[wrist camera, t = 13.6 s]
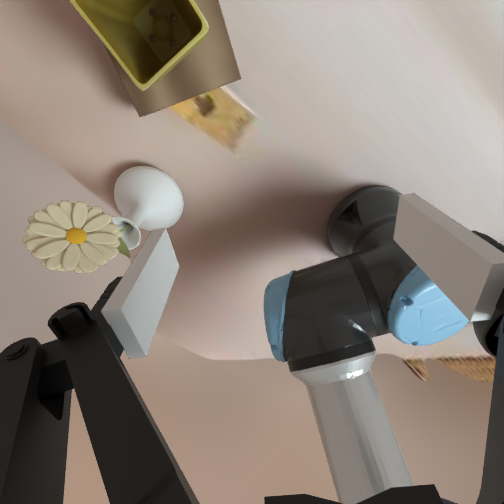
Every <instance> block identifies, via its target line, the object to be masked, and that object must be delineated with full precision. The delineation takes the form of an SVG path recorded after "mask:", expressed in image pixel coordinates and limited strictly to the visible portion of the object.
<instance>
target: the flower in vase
mask: <svg viewBox="0 0 504 504" xmlns="http://www.w3.org/2000/svg"><path fill="white" fill-rule="evenodd" d="M114 199H115V203H116V206H117V208H118V210H119V212H120V213H121V215H122V216H123V217H120V216H114V217H111V216H110V215H109V214H105V213H104V212H102V209H101V208H100V207H94V208H93V207H91V206H87V205H86V203H85V202H82V201H79V202H77V203H70V202H69V201H67V200H62V201H61V202H60V204H48V205H47V206H46V208H45V209H43V210H42V211H36V212H35V213H34V215H33V216H31V217H29V218H28V222H29V223H30V225H29V227H27V228H26V229H25V232H26V233H27V234H28V235H29V236H26V237H24V238H23V243H24V244H25V246H26V248H27V249H28V250H32V252H31V253H32V255H33V256H34V257H36V258H39V259H42V260H41V263H42V264H43V265H44V266H46V268H48V269H50V270H55V269H56V270H57V271H60V272H62V271H65V270H66V271H72V270H73V271H74V272H76V273H82V272H84V273H90V272H92V271H95V270H97V269H98V265H105V264H107V263H108V261H109V260H111V259H113V258H114V257H115V256H116V255H118V253H119V252H120V253H122V254H124V255H126V256H127V257H129V258H130V253H129V250H132V249H134V248H136V247H137V246H138V245H139V244H140V241H141V233H140V230H139V228H141V229H144V230H148V231H152V230H153V229H160V228H169V227H171V226H172V225H174V224H175V223H176V222H177V221H178V220H179V218H180V217H181V215H182V212H183V207H184V202H183V196H182V193H181V190H180V189H179V187H178V185H177V184H176V182H175V181H174V180H173V179H172V178H171V177H170V176H169V175H167V174H166V173H165V172H163V171H161V170H159V169H157V168H153V167H149V166H136V167H132V168H129V169H127V170H126V171H124V172H123V173H122V174H121V175H120V176H119V177H118V179H117V181H116V183H115V187H114Z"/></svg>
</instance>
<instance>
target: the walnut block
mask: <svg viewBox="0 0 504 504" xmlns="http://www.w3.org/2000/svg"><path fill="white" fill-rule="evenodd" d="M194 1H195V3H196V4H197V6H198V8H199V9H200V11H201V12H202V14H203V15H204V17H205V19H206V20H207V22H208V25H209V31H208V34H207V37H206V38H205V39H204V40H203V41H202V42H201V43H200V44H199V45H197V46H196V47H195V48H194V49H193V50H192V51H191V52H190V53H189V54H187V55H186V56H185V57H184V58H183V59H182V60H181V61H180V62H179V63H178V64H177V65H176V66H175V67H173V68H172V69H171V70H170V71H169V72H168V73H167V74H166V75H165V76H164V77H163V78H162V79H161V80H160V81H159V82H158V83H156V84H155V85H153V86H152V87H150V88H148V89H147V90H145V91H141V90H140V89H139V88H138V87H137V86H136V85H135V83H134V82H133V81H132V80H131V78H130V77H129V75H128V74H127V73H126V72H125V70H124V69H123V68H122V66H121V65H120V64H119V62H118V61H117V60H116V58H115V57H114V56H113V55H112V53H111V52H110V51H109V49H108V48H107V47H106V46H105V47H106V49H107V51H108V53H109V55H110V57H111V59H112V61H113V63H114V65H115V67H116V70H117V72H118V74H119V76H120V78H121V80H122V82H123V84H124V86H125V88H126V90H127V92H128V94H129V96H130V98H131V100H132V102H133V104H134V106H135V108H136V111H137V113H138V115H139V117H142V116H145V115H148V114H151V113H154V112H157V111H159V110H162V109H164V108H167V107H169V106H172V105H175V104H177V103H180V102H182V101H185V100H188V99H190V98H193V97H195V96H198V95H201V94H203V93H206V92H208V91H211V90H214V89H216V88H219V87H221V86H224V85H227V84H229V83H232V82H234V81H237V80H240V79H241V76H240V73H239V69H238V66H237V62H236V59H235V56H234V52H233V49H232V45H231V42H230V38H229V35H228V32H227V28H226V25H225V21H224V18H223V14H222V11H221V8H220V4H219V1H218V0H194ZM150 14H151V15H152V16H155V11H154V10H151V11H150ZM171 19H172V20H173V21H176V16H175V15H172V16H171ZM151 40H152V41H155V36H153V35H152V36H151ZM175 44H176V42H175V41H174V40H171V45H172V46H175ZM104 45H105V44H104Z"/></svg>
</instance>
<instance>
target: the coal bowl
mask: <svg viewBox="0 0 504 504" xmlns="http://www.w3.org/2000/svg"><path fill="white" fill-rule="evenodd" d="M503 316H504V314H503V313H502V312H500V311H499V310H498V309H497V308H496V309H495V311H494V313H493V315H492V318H491V319H490V320H481V321H473V327H474V331H475V334H476V336H477V338H478V340H479V342H480V344H481V345H482V347H483V348H484V349H485V351H486V352H487V353H489V354H490V355H492V356H494V357H497V348H498V340H499V336H498V337H497V336H494V335H495V333H496V331H497V328H498V326H499V324H500V322H501V320H502V318H503Z"/></svg>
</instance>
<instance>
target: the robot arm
mask: <svg viewBox="0 0 504 504" xmlns="http://www.w3.org/2000/svg"><path fill="white" fill-rule="evenodd" d="M327 234H328V239H329V242H330V244H331V246H332V248H333V250H334V252H335V253H336V254H337V255H338V256H339V258H336V259H333V260H330V261H326V262H323V263H320V264H317V265H314V266H311V267H308V268H304V269H301V270H298V271H295V270H294V271H291V272H290V273H289V274H286V275H284V276H281V277H278V278H276V279H273V280H272V281H270V282H269V284H268V285H267V287H266V289H265V294H264V318H265V326H266V332H267V337H268V341H269V343H270V345H271V350H272V353H273V355H274V357H275V358H276V360H278V361H282V362H286V361H287V362H288V365H289V369H290V373H291V375H293V376H294V377H296V378H297V379H299V380H300V381H302V382H303V383H304V384H305V385H306V388H307V391H308V395H309V398H310V402H311V405H312V409H313V412H314V416H315V419H316V423H317V426H318V430H319V433H320V437H321V440H322V444H323V447H324V451H325V454H326V458H327V461H328V464H329V468H330V472H331V475H332V479H333V482H334V486H335V489H336V493H337V496H338V500H339V502H335V501H331V500H327V499H323V498H319V497H315V496H311V495H307V494H297V495H283V496H270V497H264V498H265V504H457V503H454V502H451V501H449V500H446V499H443V498H440V496H439V493H438V491H437V489H436V487H435V485H434V484H432V485H418V486H414V484H413V482H412V479H411V476H410V474H409V471H408V468H407V466H406V463H405V460H404V458H403V455H402V452H401V450H400V447H399V444H398V442H397V439H396V437H395V434H394V431H393V429H392V426H391V423H390V420H389V418H388V415H387V412H386V410H385V407H384V405H383V402H382V399H381V396H380V394H379V391H378V388H377V386H376V383H375V381H374V378H373V375H372V373H371V370H370V369H371V364H372V362H373V360H374V358H375V356H376V353H377V352H376V349H375V347H374V344H373V342H372V338H373V337H376V336H380V335H384V334H388V333H392V334H393V336H394V337H396V338H397V339H398V340H400V341H401V342H403V343H405V344H412V345H415V346H423V345H429V344H433V343H436V342H439V341H442V340H444V339H446V338H448V337H450V336H452V335H453V334H455V333H456V332H458V331H459V330H461V329H462V328H463V327H464V326H465V325H466V324H467V323H468V322H469V321H470V322H472V321H481V320H490V319H491V318H492V315H493V313H494V311H495V309H496V308H497V309H498V310H499V311H500V312H502V313H503V314H504V246H503V245H502V244H500V243H497V241H495V240H494V239H492V238H491V237H489V236H488V235H485V234H482V233H479V232H477V231H470V230H469V229H467V228H466V227H464V226H463V225H461V224H460V223H458V222H457V221H455V220H453V219H452V218H450V217H449V216H447V215H446V214H444V213H443V212H441V211H440V210H438V209H437V208H435V207H434V206H432V205H431V204H429V203H428V202H426V201H425V200H423V199H422V198H420V197H419V196H417V195H416V194H414V193H413V194H406V195H402V194H401V193H400V192H398V191H397V190H395V189H392V188H389V187H385V186H372V187H367V188H363V189H360V190H358V191H356V192H354V193H352V194H350V195H349V196H347V197H346V198H345V199H344V200H343V201H341V202H340V203H339V205H338V206H337V207H336V208H335V210H334V211H333V213H332V215H331V217H330V219H329V223H328V228H327ZM178 269H179V264H178V261H177V258H176V255H175V252H174V249H173V246H172V243H171V241H170V238H169V235H168V232H167V229H166V228H160V229H153V230H152V232H151V234H150V235H149V237H148V238H147V240H146V241H145V243H144V245H143V246H142V248H141V249H140V251H139V252H138V254H137V256H136V257H135V259H134V260H133V262H132V263H131V265H130V266H129V268H128V270H127V271H126V273H125V274H124V276H122V277H117V278H116V279H115V280H114V281H113V282H111V283H110V284H109V285H108V287H107V288H106V289H105V291H104V293H103V294H102V295H101V297H100V299H99V300H98V301H97V303H96V304H95V305H94V307H93V309H92V310H91V311H90V309H89V308H88V306H87V305H86V304H85V303H81V302H77V303H72V304H70V305H67V306H65V307H63V308H61V309H60V310H58V311H57V312H55V313H54V314H53V315H52V316H51V318H50V319H49V320H48V326H49V327H50V329H51V330H52V331H53V333H54V334H55V335H56V337H57V338H58V339H57V340H54V341H51V342H48V343H45V344H42V345H41V344H40V343H39V341H38V340H37V339H35V338H25V339H21V340H19V341H17V342H15V343H13V344H11V345H10V346H8V347H7V348H6V349H5V350H3V352H1V353H0V504H63V496H64V484H65V470H66V458H67V443H68V431H69V419H70V418H69V417H70V406H71V393H72V389H73V388H74V389H75V392H76V395H77V399H78V401H79V405H80V408H81V411H82V415H83V418H84V421H85V424H86V428H87V431H88V434H89V437H90V440H91V444H92V447H93V450H94V453H95V457H96V460H97V463H98V466H99V469H100V472H101V476H102V479H103V482H104V485H105V489H106V492H107V495H108V498H109V502H110V504H200V503H199V502H198V500H197V498H196V496H195V494H194V492H193V491H192V489H191V487H190V485H189V483H188V481H187V480H186V478H185V476H184V474H183V472H182V470H181V469H180V467H179V465H178V463H177V461H176V460H175V458H174V456H173V454H172V453H171V450H170V449H169V447H168V445H167V443H166V441H165V439H164V437H163V436H162V434H161V432H160V430H159V428H158V427H157V425H156V423H155V421H154V419H153V417H152V416H151V414H150V412H149V410H148V408H147V406H146V405H145V403H144V401H143V399H142V397H141V395H140V394H139V392H138V390H137V388H136V386H135V384H134V383H133V381H132V379H131V377H130V376H129V373H128V372H127V370H126V368H125V366H124V364H123V363H122V361H121V359H120V356H121V354H122V352H123V350H124V351H125V353H126V355H127V356H128V358H129V359H131V358H140V357H147V354H148V351H149V349H150V346H151V343H152V340H153V338H154V335H155V332H156V329H157V327H158V324H159V321H160V319H161V316H162V313H163V310H164V308H165V305H166V302H167V299H168V297H169V294H170V291H171V288H172V286H173V283H174V280H175V278H176V275H177V272H178ZM494 336H497V337H498V336H499V340H498V348H497V357H496V365H495V374H494V382H493V391H492V400H491V408H490V416H489V425H488V433H487V442H486V450H485V459H484V467H483V476H482V484H481V490H480V494H479V497H478V500H477V503H476V504H504V316H503V318H502V320H501V322H500V324H499V326H498V328H497V331H496V333H495V335H494Z"/></svg>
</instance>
